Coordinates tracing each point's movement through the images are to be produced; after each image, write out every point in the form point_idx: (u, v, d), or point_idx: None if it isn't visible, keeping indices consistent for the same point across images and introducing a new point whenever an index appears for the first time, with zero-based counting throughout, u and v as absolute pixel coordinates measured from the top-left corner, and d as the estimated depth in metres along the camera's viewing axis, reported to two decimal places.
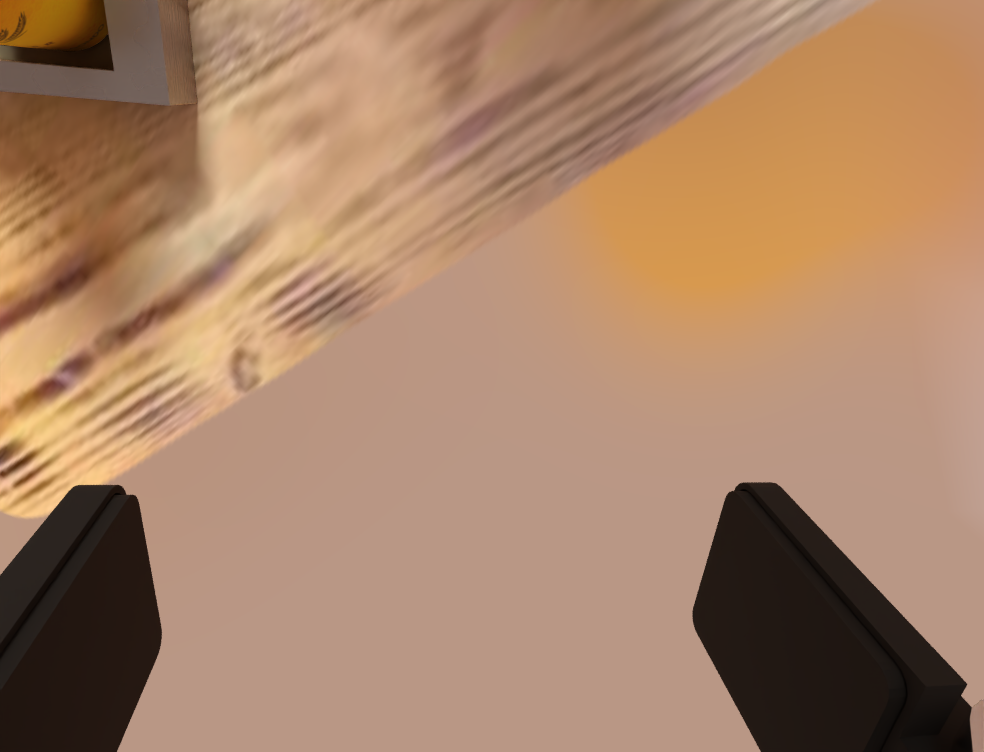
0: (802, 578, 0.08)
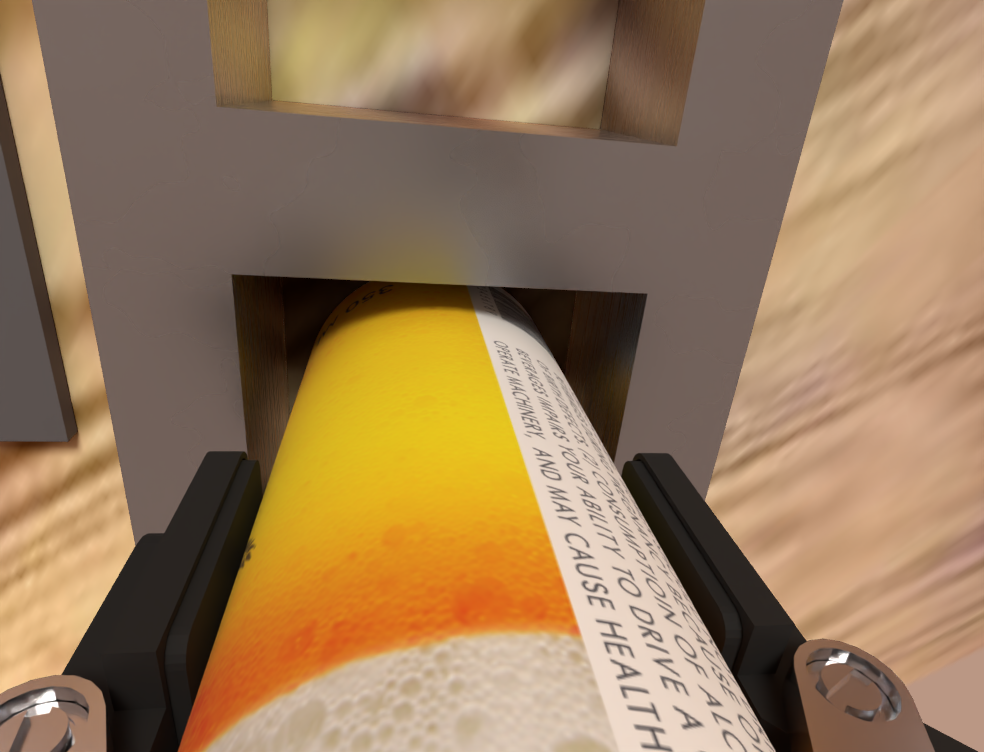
0: (672, 536, 0.09)
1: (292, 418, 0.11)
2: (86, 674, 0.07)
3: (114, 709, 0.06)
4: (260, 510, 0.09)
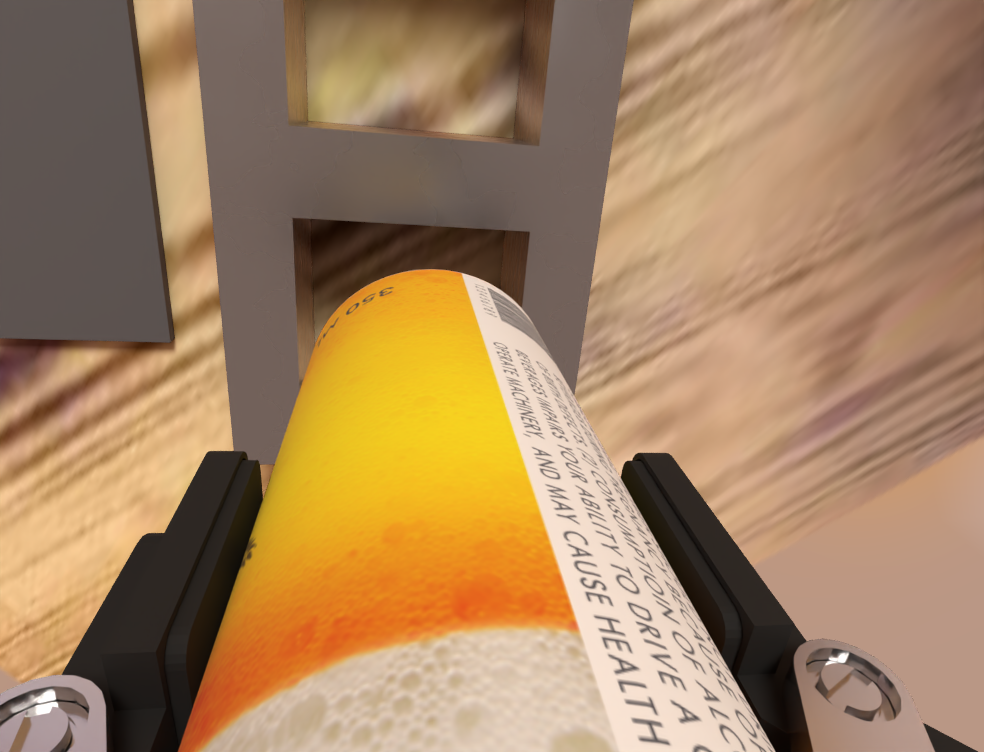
0: (672, 536, 0.09)
1: (293, 419, 0.11)
2: (86, 674, 0.07)
3: (114, 709, 0.06)
4: (261, 510, 0.09)
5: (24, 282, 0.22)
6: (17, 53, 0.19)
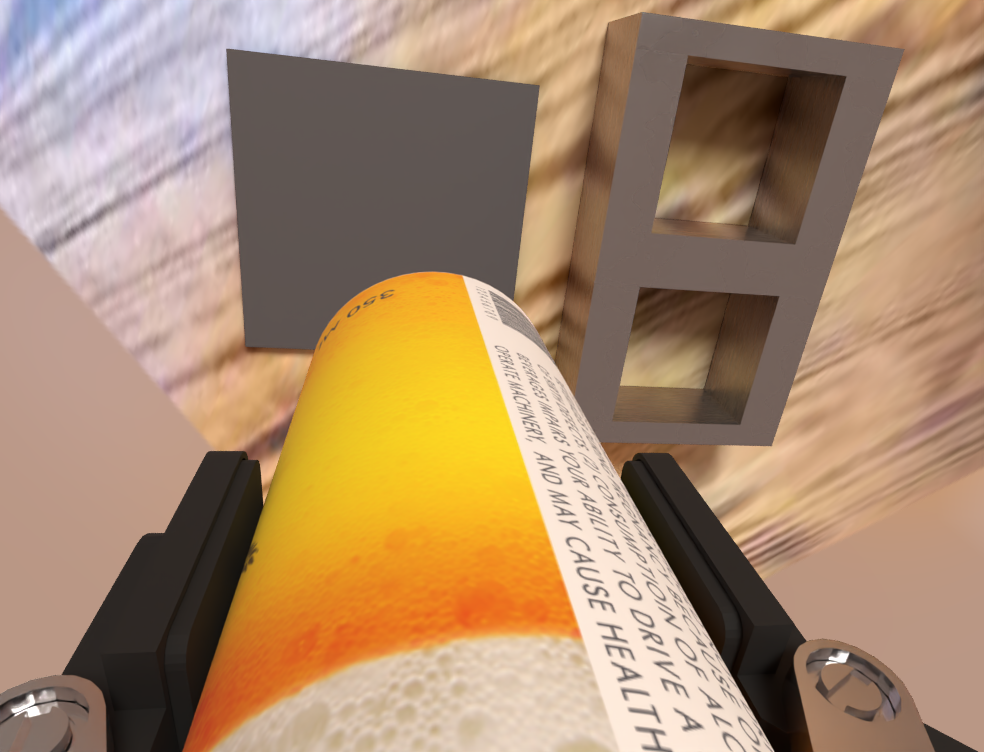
0: (672, 536, 0.09)
1: (294, 422, 0.11)
2: (86, 674, 0.07)
3: (114, 709, 0.06)
4: (262, 514, 0.09)
5: None
6: (460, 175, 0.30)
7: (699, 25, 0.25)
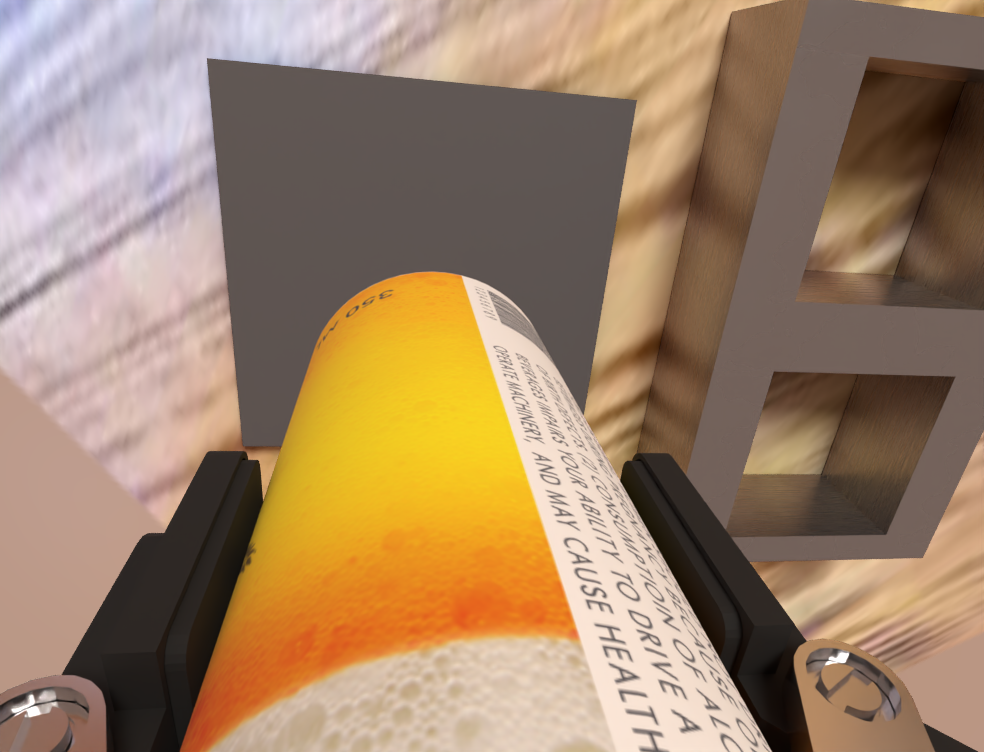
0: (672, 536, 0.09)
1: (292, 423, 0.11)
2: (86, 674, 0.07)
3: (114, 709, 0.06)
4: (260, 515, 0.09)
5: None
6: (526, 223, 0.23)
7: (889, 13, 0.17)
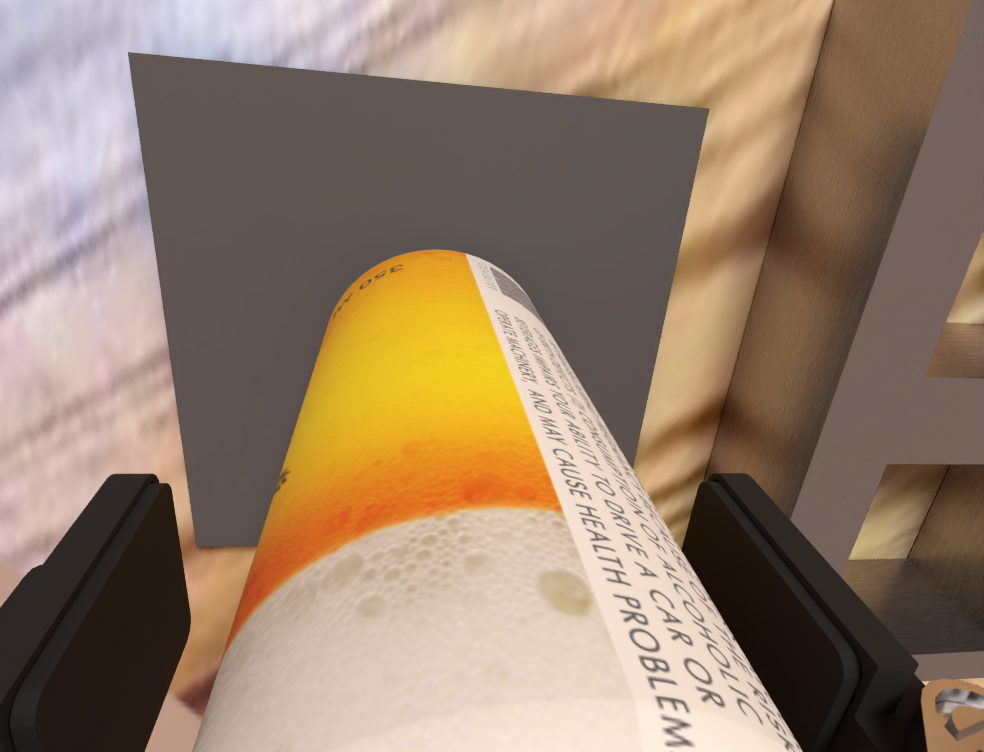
0: (767, 564, 0.08)
1: (314, 378, 0.12)
2: None
3: None
4: (290, 448, 0.10)
5: None
6: (560, 268, 0.17)
7: None
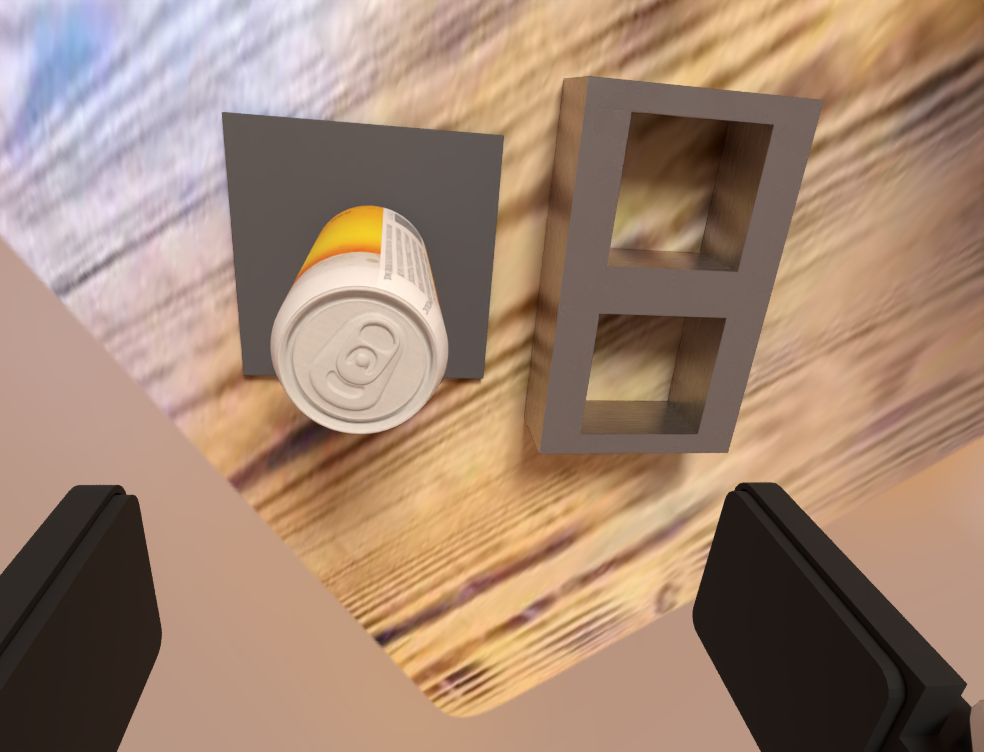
0: (802, 578, 0.08)
1: None
2: None
3: None
4: None
5: None
6: (435, 217, 0.34)
7: (640, 85, 0.29)
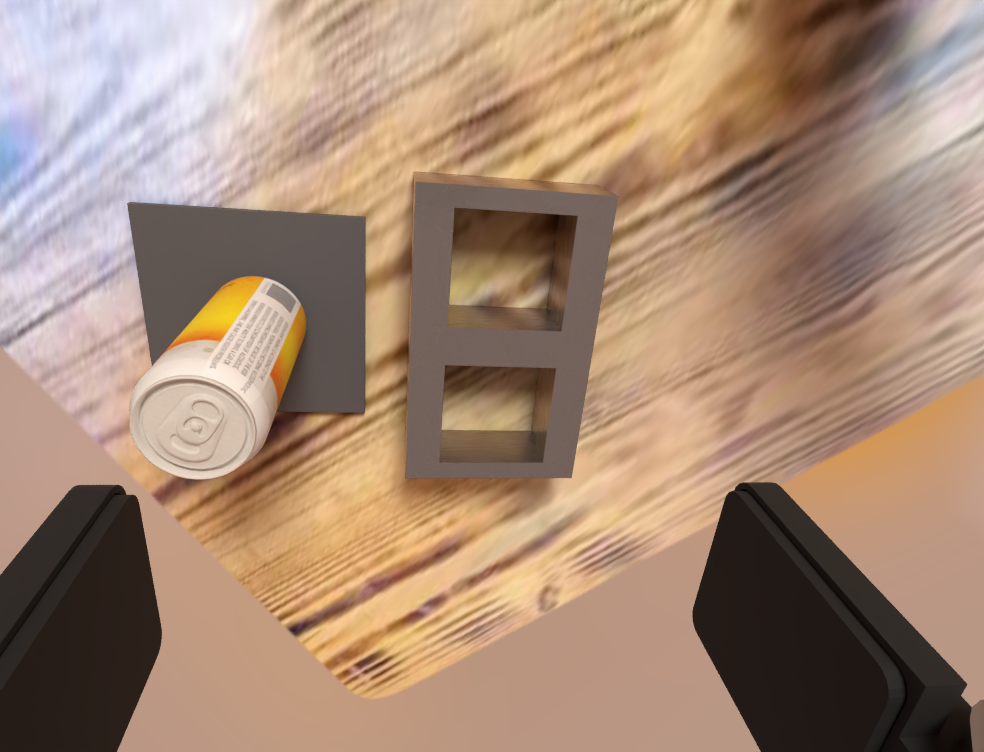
0: (802, 578, 0.08)
1: None
2: None
3: None
4: None
5: (297, 384, 0.44)
6: (312, 282, 0.41)
7: (459, 188, 0.36)
